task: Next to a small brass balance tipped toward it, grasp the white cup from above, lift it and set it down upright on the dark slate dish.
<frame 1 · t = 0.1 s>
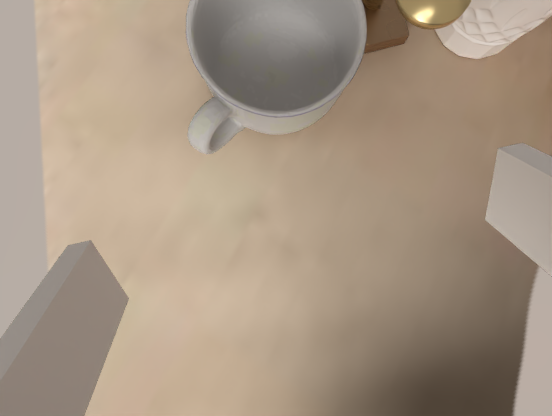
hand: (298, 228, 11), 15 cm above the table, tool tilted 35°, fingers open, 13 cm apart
balance: (369, 9, 27), on the table
white cup: (472, 21, 27), on the table
teacup: (266, 97, 27), on the table
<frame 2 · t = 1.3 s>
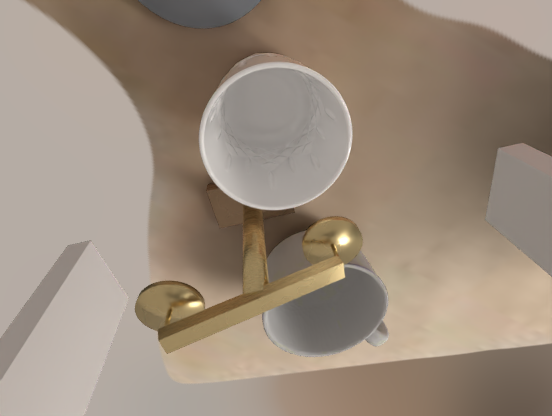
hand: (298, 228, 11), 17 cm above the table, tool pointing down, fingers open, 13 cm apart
balance: (251, 195, 29), on the table
white cup: (265, 99, 25), on the table
teacup: (318, 263, 35), on the table
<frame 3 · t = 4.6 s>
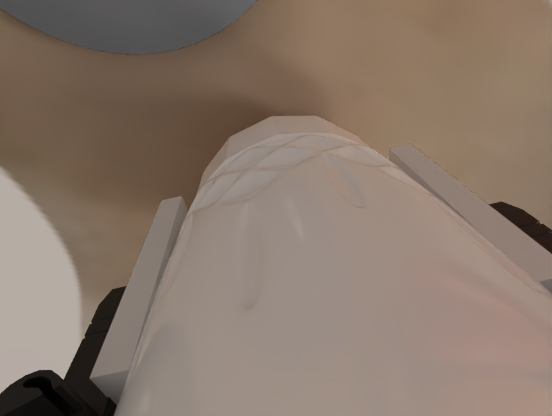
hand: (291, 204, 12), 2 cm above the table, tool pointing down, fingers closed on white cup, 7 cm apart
white cup: (288, 198, 12), point 2 cm above the table, touching gripper
when the fingers open (3 cm above the table, at t = 9.4 s): white cup drops 1 cm, resting on dish.
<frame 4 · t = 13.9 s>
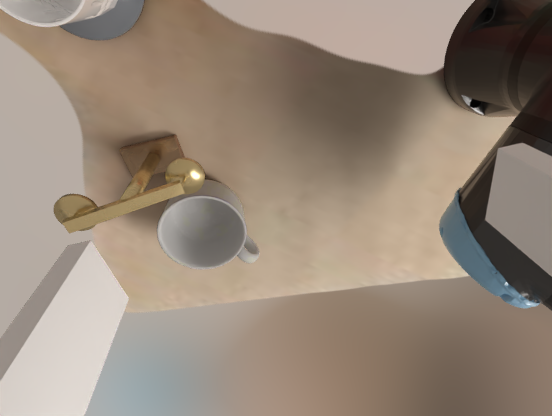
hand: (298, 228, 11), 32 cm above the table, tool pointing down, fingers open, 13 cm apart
balance: (155, 155, 42), on the table
teacup: (216, 209, 47), on the table
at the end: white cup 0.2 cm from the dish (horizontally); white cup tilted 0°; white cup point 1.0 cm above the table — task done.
